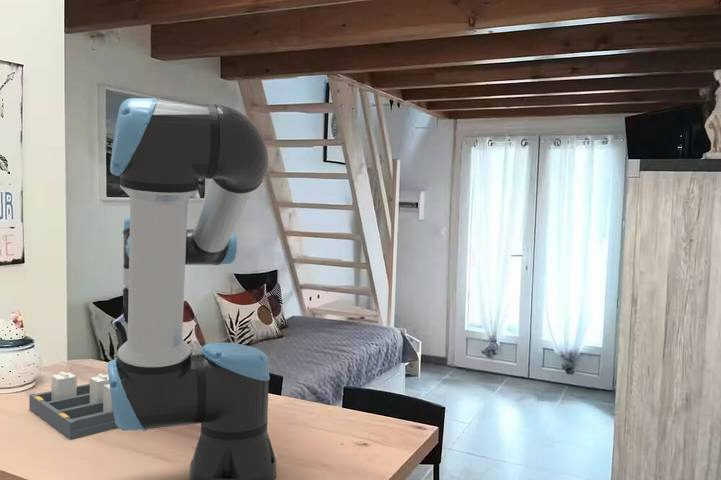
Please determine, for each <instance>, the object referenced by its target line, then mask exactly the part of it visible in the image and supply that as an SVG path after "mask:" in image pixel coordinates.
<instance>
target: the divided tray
mask: <svg viewBox="0 0 721 480" xmlns="http://www.w3.org/2000/svg"><path fill="white" fill-rule="evenodd" d="M28 400H29V405H28V407H29V408H28V409H29V411H30V412H32V413H33V414H35V415H36V416H37V417H39V418H40V419H41V420H42V421H44V422H45V423H47V425H49V426H51V427H52V428H53V429H55V430H56V431H58V432H59V433H60V434H62V435H63V436H64V437H66V438H67V439H68V440H75V439H79V438H83V437H86V436H87V437H88V436H92V435H96V434H98V433H102V432H106V431H110V430H116V429H119V428H118V427H117V425H116V423H115V419H114V413H113V410H112V411H107V412H103V401H100V402H96V403H91V404H90V383H86V384H80V385H77V396H74V397H69V398H64V399H59V400H54V401H51V390H50V391H43V392H40V393H39V392H38V393H31V394H29V397H28Z"/></svg>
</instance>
